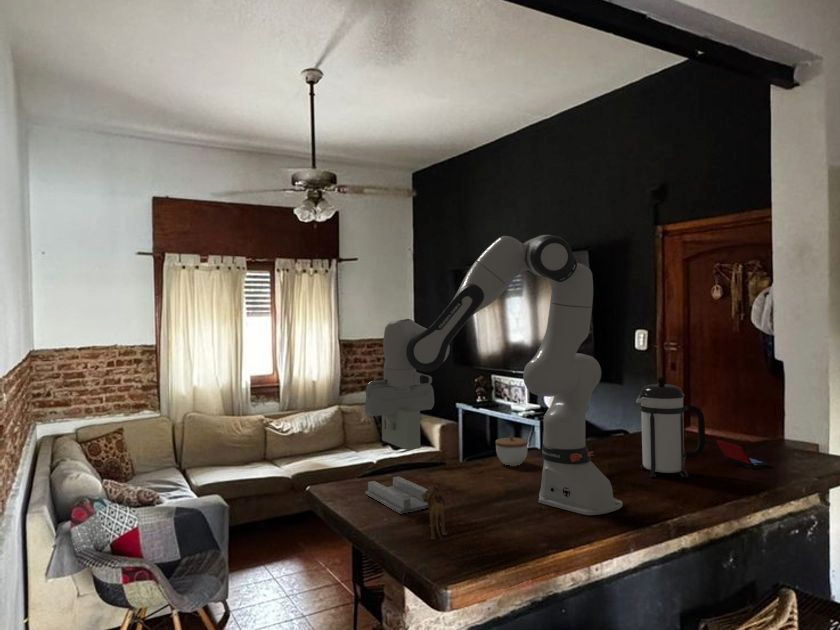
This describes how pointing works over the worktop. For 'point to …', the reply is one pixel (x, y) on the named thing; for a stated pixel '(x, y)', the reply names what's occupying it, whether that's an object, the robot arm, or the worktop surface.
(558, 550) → the worktop surface
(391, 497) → the bottom track
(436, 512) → the lion figurine
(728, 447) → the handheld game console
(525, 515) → the worktop surface
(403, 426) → the door panel
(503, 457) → the lidded jar
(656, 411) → the coffee press
